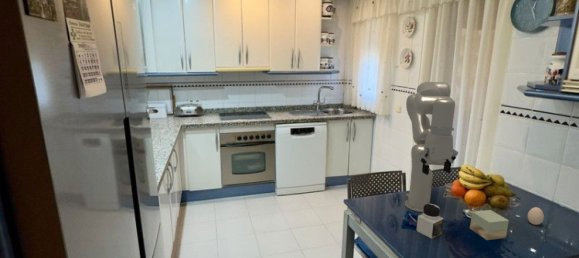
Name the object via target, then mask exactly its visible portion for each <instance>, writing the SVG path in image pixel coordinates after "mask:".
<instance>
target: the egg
mask: <svg viewBox="0 0 579 258" xmlns="http://www.w3.org/2000/svg"><path fill="white" fill-rule="evenodd" d="M544 219H545V215H544V212H543V210H542V209H541V208H539V207H538V206H535V207H532V208H531V209H530V210H529V211H528V212H527V220H528V221H529V222H530V224H532V225H535V226H538V225H541V223H543V222H544Z"/></svg>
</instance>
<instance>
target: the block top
mask: <svg viewBox="0 0 579 258" xmlns="http://www.w3.org/2000/svg"><path fill="white" fill-rule="evenodd" d="M471 221H473V222H474V223H476V224H477V225H479V226H480V227H482V228H483V229H485V230H486V231H488V232H490V231H498V230H506V229H507V230H508V227H509V222H510V221H509V219H507V218H506V217H503V216H502V215H500V214H498V213H497V212H495V211H494V210H491V209H487V210H478V211H471V219H470V222H471Z"/></svg>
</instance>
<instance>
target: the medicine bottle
mask: <svg viewBox="0 0 579 258" xmlns="http://www.w3.org/2000/svg"><path fill="white" fill-rule="evenodd" d="M440 213H441V208H440V206H438V205H436V204H434V203H430V204H425V205H424V209H423V212H422V213H421V214H419V215H418V216H417V224H416V232H417V233H420V234H421V235H423V236H426V237H428V238H429V239H434V238H436V237H438V236H440V235H442V234H443V225H444V217H442V216H440Z"/></svg>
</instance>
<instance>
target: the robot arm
mask: <svg viewBox="0 0 579 258" xmlns="http://www.w3.org/2000/svg"><path fill="white" fill-rule="evenodd" d="M450 96H451V86H450V84H448V83H447V82H443V81H442V82H441V81H425V82H422V83H419V85H418V86H417V88H416V93H413V94H410V95H408V97H407V98H406V102H405V106H406V111H407V115H408V117H409V119H410V122H411V131H412V139H413V142H414V145H412V147H411V151H410V155H411V173H410V183H409V191H408V193H406V194H405V196H406V197H407V200H405V202H404V206H405V207H406V208H408V209H409V210H411V211H414V212H418V213H423V209H424V205H425V204H431V195H432V185H433V176H434V173H433V171H432V170H431V168H430V166H431V165H432V166H434V165H435V166H443V172H446V174H450V173H451V169H452V164H454V162H455V160H456V159H457V156H458V154H459V151H458V150H456V149H454V136H453V134H452V133H453V132H454V131H455V128H454V127H453V126H454V119H455V118H454V117H455V109H456V101H455V100H454V99H453V98H452V97H450ZM427 115H429V116H430V115H431V119H430V118H429V117H428V116H427ZM430 120H431V121H430Z"/></svg>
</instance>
